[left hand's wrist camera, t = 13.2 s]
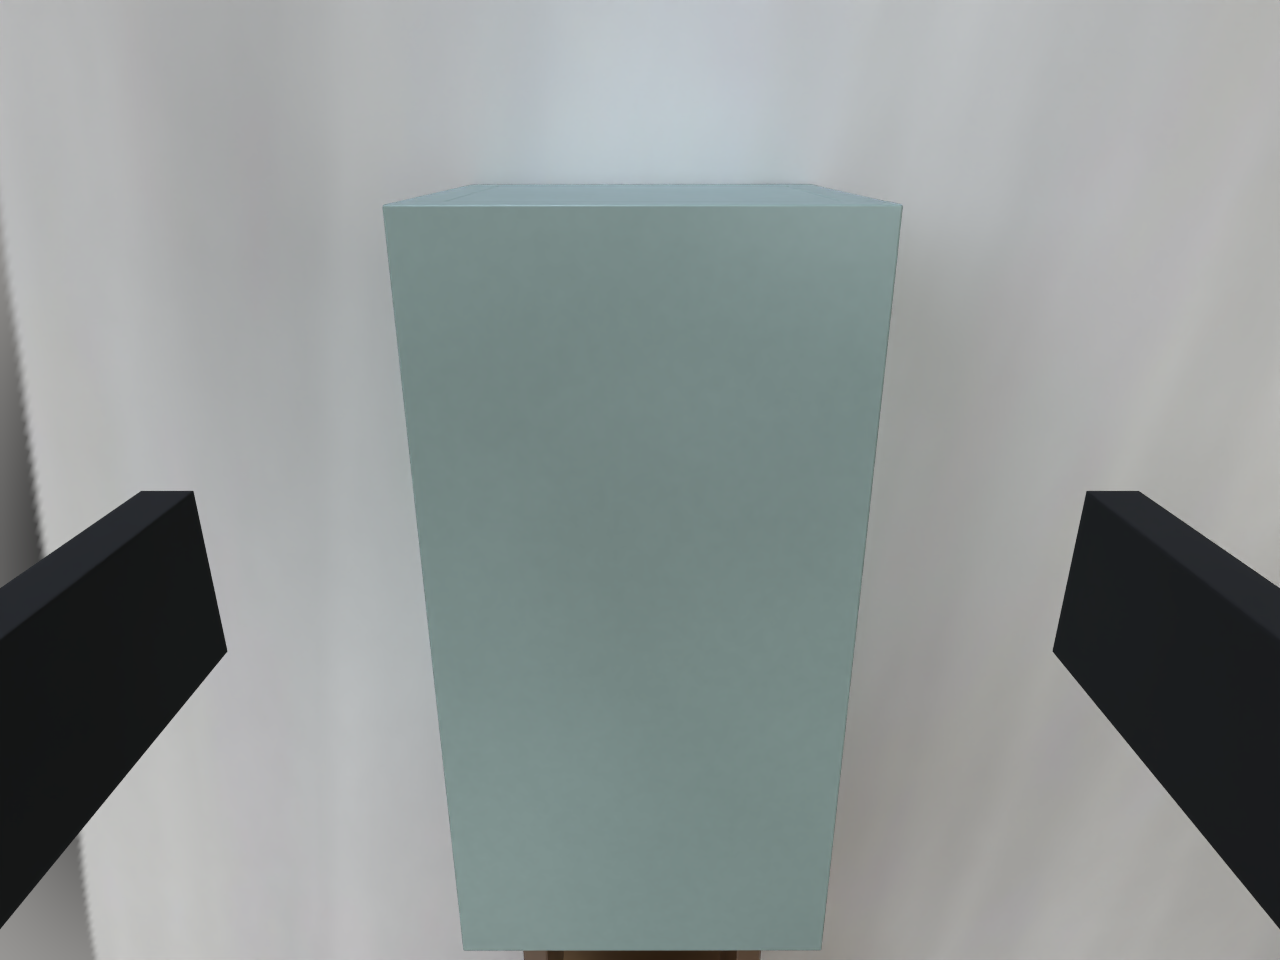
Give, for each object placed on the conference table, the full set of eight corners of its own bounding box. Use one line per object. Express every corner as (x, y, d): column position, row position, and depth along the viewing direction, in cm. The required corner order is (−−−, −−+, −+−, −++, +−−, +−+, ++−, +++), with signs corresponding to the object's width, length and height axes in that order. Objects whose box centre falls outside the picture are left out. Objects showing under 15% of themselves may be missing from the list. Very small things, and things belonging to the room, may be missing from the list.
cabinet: (773, 739, 34) (821, 951, 25) (509, 739, 34) (463, 951, 25) (813, 184, 26) (903, 204, 17) (469, 184, 26) (381, 204, 17)
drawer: (744, 1021, 39) (768, 1217, 32) (538, 1021, 39) (515, 1217, 32) (778, 519, 29) (822, 637, 22) (505, 519, 29) (462, 638, 22)
